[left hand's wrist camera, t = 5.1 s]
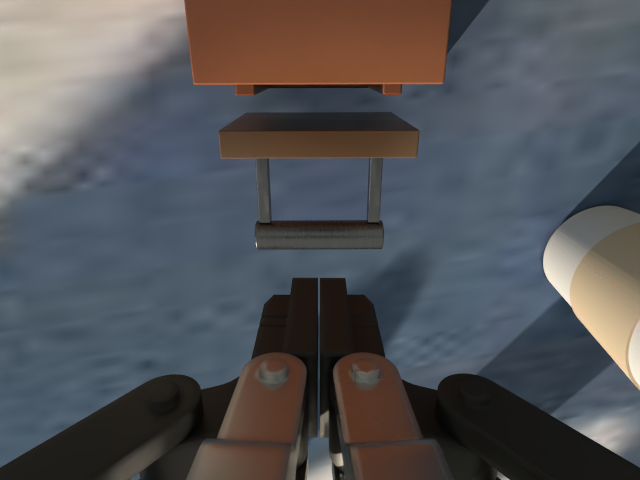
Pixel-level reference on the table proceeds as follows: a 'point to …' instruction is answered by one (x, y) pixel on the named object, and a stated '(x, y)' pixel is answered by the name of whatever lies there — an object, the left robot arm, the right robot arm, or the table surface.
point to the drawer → (319, 142)
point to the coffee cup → (601, 278)
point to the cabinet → (318, 41)
